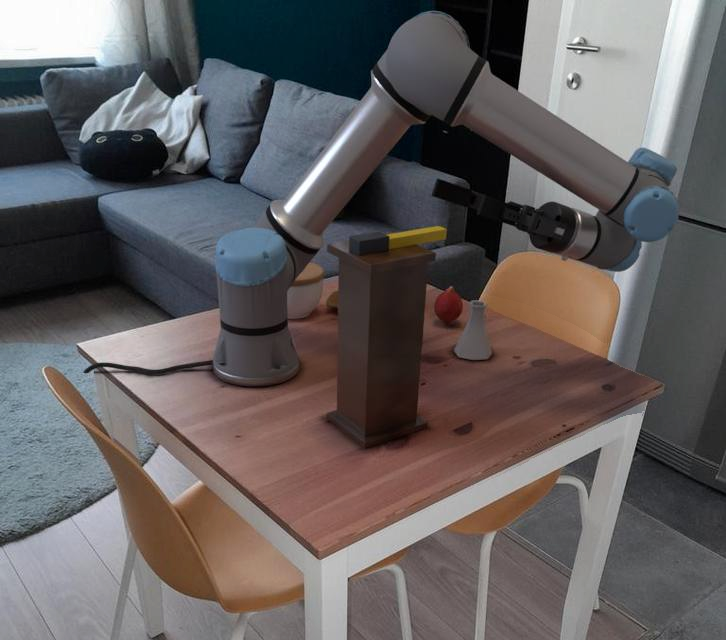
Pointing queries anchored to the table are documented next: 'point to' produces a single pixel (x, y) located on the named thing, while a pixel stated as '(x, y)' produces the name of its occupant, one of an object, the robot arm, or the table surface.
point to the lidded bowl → (305, 292)
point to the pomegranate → (448, 306)
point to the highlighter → (394, 240)
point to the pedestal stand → (379, 341)
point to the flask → (474, 335)
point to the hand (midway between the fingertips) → (456, 195)
